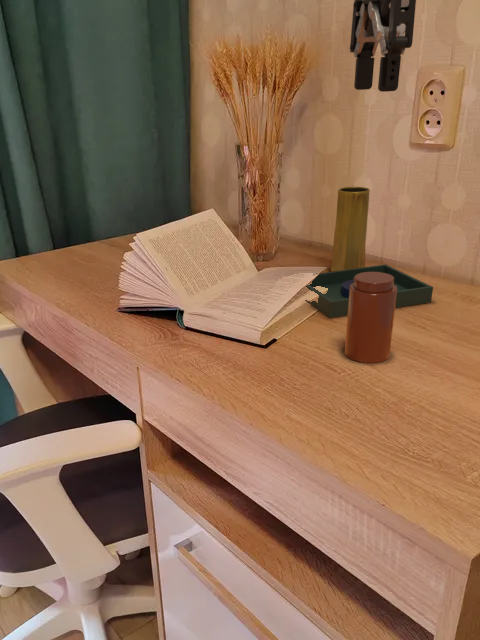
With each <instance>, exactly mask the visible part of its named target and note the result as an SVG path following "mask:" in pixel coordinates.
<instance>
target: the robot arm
mask: <svg viewBox="0 0 480 640" xmlns="http://www.w3.org/2000/svg"><path fill="white" fill-rule="evenodd" d="M352 5H353V6H352V7H353V9H352V19H351V20H352V21H351V30H350V31H351V32H350V44H349V52H350V53H353V56H354V58H355V72H354V84H353V85H354V89H355V90H357V91H362V90H363V91H364V90H370V89H372V87H373V83H374V82H373V81H374V69H375V55H376V52H377V48H378V46H379V47H380V48H379V49H380V54H381V56H380V61H379V71H378V73H379V74H378V83H377V84H378V85H377V90H378V91H379V92H381V93H383V92H395V91H397V90H398V88H399V80H400V71H401V60H402V55H404V54H405V52H406V49H410V48H412V45H413V40H414V29H415V28H414V27H415V16H416V6H417V0H354V1H353V4H352Z"/></svg>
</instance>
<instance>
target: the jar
mask: <svg viewBox="0 0 480 640" xmlns="http://www.w3.org/2000/svg"><path fill="white" fill-rule="evenodd" d="M396 296H397V286H396V285H394V277H393V276H392V275H389V274H386V273H381V272H363V273H359V274H357V275H356V276H355V277H354V283H352V284H351V285H350V289H349V302H348V315H346V329H345V341H344V355H345V356H346V357H347V358H348V359H350V360H351V361H355V362H359V363H366V364H376V363H382V362H384V361H386V360H388V359H389V357H390V354H391V347H392V346H391V345H392V340H393V339H392V338H393V330H394V329H393V328H394V323H395V322H394V321H395V311H396V308H395V305H396Z"/></svg>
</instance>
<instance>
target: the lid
mask: <svg viewBox="0 0 480 640" xmlns="http://www.w3.org/2000/svg"><path fill="white" fill-rule="evenodd" d="M352 283H354V280H348V281H345V282H343V283H342V287H341V294H342V296H344V297H346V298H349V289H350V285H351V284H352Z"/></svg>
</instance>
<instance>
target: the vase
mask: <svg viewBox="0 0 480 640" xmlns="http://www.w3.org/2000/svg"><path fill="white" fill-rule="evenodd" d="M370 190H371V189H370V188H369V187H364V186H344V187H340V188H339V189H338V190H337V200H336V202H337V204H336V215H335V217H336V218H335V226H334V235H333V245H332V257H331V264H330V265H331V266H330V272H333V271H341V270H348V269H355V268H363V267H366V247H367V245H366V244H367V233H368V231H367V230H368V217H369V204H370V192H371V191H370Z"/></svg>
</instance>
